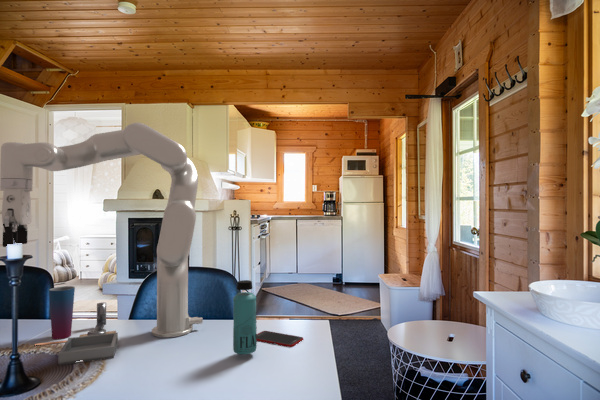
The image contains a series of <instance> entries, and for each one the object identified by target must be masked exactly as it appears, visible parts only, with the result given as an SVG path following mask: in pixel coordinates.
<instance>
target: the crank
mask: <svg viewBox="0 0 600 400" xmlns="http://www.w3.org/2000/svg"><path fill="white" fill-rule="evenodd" d="M105 325H107V302H104V301H103V302H98V303H97V304H96V325H95V327H94V329H92V330H89V331H87V332H86V334H87V336H91V335H100V334H106V332H107V330H106V329H104V327H105Z"/></svg>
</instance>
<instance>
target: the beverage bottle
mask: <svg viewBox="0 0 600 400" xmlns="http://www.w3.org/2000/svg"><path fill="white" fill-rule="evenodd" d="M236 289H237V290H238V291H242V292H238V293H236V294H235V295H234V296H233V299H232V301H233V302H232V303H233V306H232V307H233V313H232V315H233V327H232V328H233V329H232V330H233V331H232V337H233V339H232V341H233V342H232V344H233V345H232V347H233V348H232V350H233V352H234V353H235V354H237V355H249V354H253V353H255V352H256V350H257V346H258V344H257V343H258V341H257V337H256V334H257V330H258V328H257V319H258V318H257V308H258V307H257V296H256V295H255V294H254V293H253V292H249V291H250V290H253V281H252V280H251V279H249V280H247V279H246V280H238V281H237V283H236ZM243 291H244V292H243ZM247 291H248V292H247Z"/></svg>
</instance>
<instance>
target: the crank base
mask: <svg viewBox="0 0 600 400" xmlns="http://www.w3.org/2000/svg"><path fill="white" fill-rule="evenodd" d="M109 333H117V331H116V330H111V331H110V330H109V331H106V334H109ZM82 336H87V333H85V334H84V333H83V334H79V336H78V337H82ZM67 340H68V339H67ZM67 340H65V339H64V340H59V341H58V340H57V341H48V342H40V343H35V344H34V345H35V346H34V347H37V346H36V345H41V346H46V345H48V346H49V345H57V344H65V343H66V341H67Z"/></svg>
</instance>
